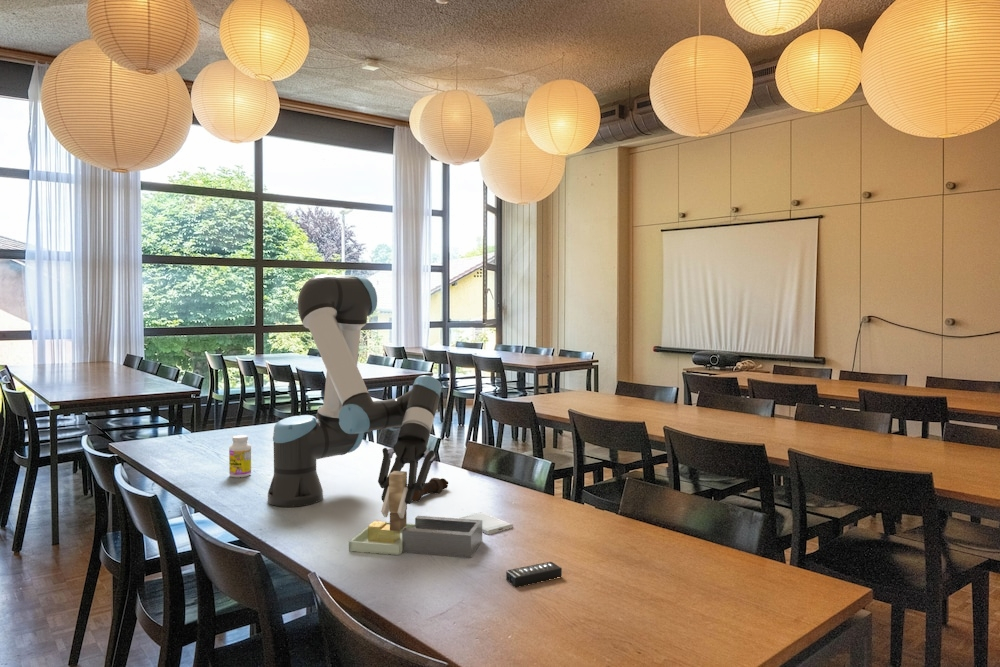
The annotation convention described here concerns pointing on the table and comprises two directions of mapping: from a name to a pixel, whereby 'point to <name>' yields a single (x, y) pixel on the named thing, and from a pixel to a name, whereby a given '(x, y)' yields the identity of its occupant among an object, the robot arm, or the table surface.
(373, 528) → the light wood block
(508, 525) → the hard drive
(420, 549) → the gray open box
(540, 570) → the multiport hub
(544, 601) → the table surface
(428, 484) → the bolt
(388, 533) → the tan wooden block
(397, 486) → the tan wooden pedestal block
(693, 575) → the table surface
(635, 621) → the table surface
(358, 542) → the tray
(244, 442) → the supplement bottle
